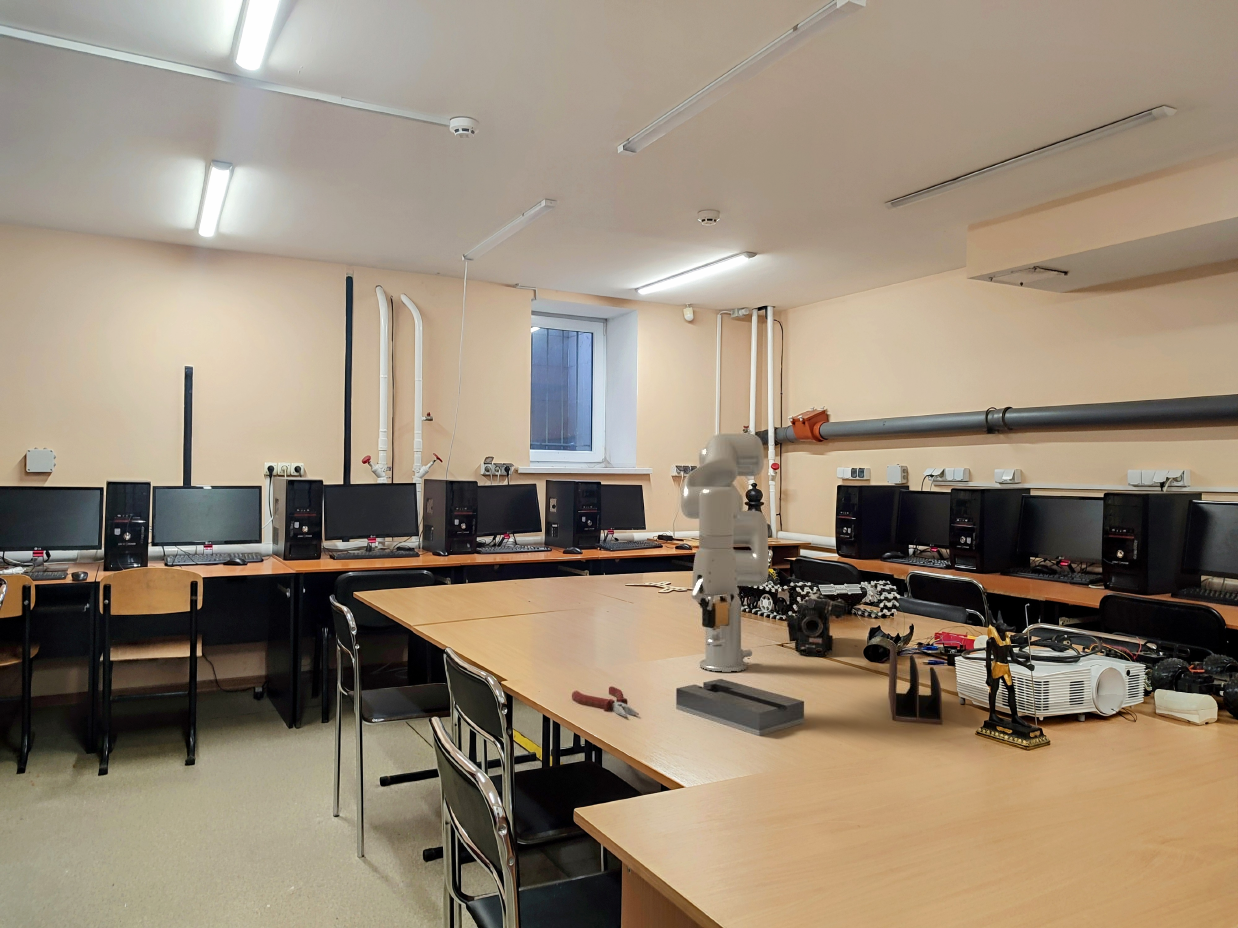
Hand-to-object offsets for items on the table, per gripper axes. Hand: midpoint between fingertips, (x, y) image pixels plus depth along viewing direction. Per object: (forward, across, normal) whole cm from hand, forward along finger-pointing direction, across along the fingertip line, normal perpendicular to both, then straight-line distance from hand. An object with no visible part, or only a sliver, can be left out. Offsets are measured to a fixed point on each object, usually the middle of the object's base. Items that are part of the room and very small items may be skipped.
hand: (715, 625), depth 180 cm
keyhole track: (+18, 0, +7) cm, 20 cm away
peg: (+4, 0, 0) cm, 4 cm away
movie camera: (+18, -70, -25) cm, 77 cm away
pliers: (+19, +18, -17) cm, 31 cm away
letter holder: (+19, -34, +28) cm, 48 cm away
